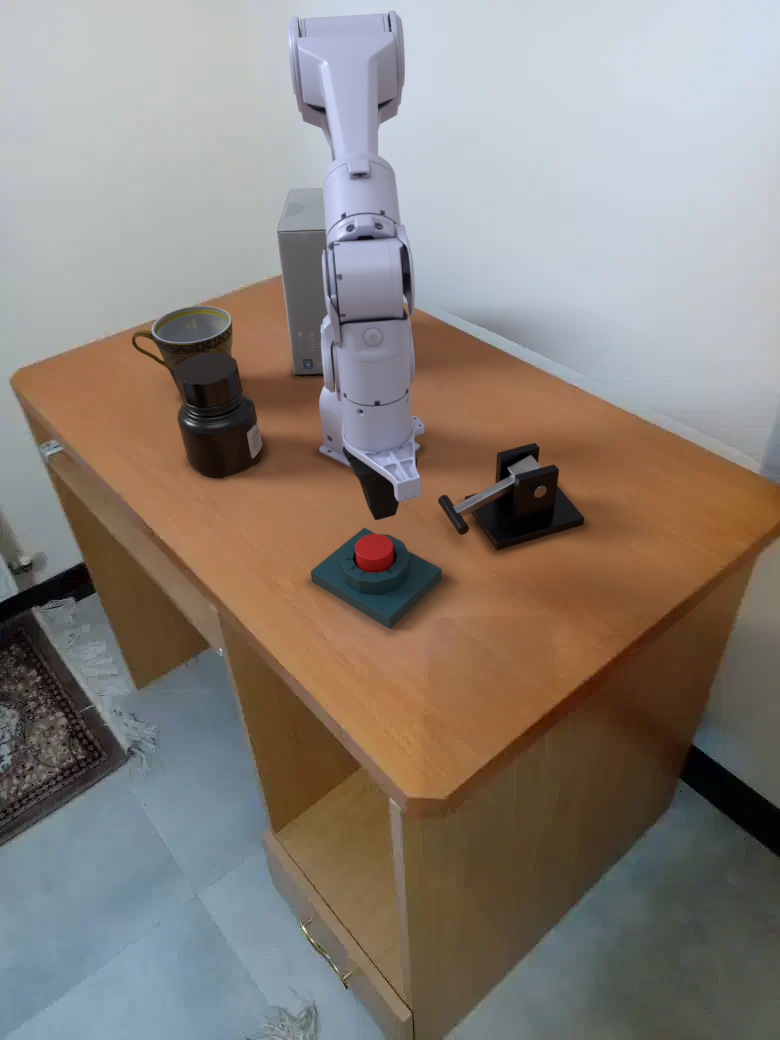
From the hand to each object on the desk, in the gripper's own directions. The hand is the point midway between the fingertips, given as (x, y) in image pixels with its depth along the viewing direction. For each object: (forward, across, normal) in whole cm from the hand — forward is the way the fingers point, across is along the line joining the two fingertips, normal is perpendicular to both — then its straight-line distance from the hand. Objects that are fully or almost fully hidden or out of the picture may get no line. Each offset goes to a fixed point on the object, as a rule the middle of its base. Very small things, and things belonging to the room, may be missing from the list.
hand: (383, 513), depth 73 cm
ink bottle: (+8, +26, +11) cm, 30 cm away
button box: (+8, 0, +1) cm, 8 cm away
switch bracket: (+8, +3, -16) cm, 19 cm away
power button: (+5, -1, +1) cm, 5 cm away
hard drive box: (+8, +46, -8) cm, 47 cm away
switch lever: (+5, +3, -13) cm, 14 cm away
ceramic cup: (+8, +42, +12) cm, 44 cm away
